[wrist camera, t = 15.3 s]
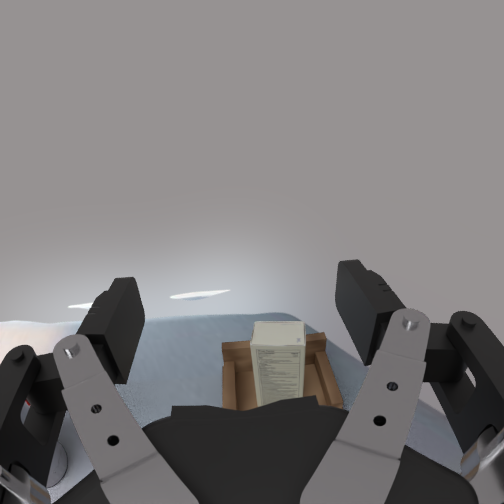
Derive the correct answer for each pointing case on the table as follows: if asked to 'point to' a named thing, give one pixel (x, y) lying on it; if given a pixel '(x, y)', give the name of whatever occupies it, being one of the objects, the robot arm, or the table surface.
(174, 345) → the table surface
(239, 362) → the tray
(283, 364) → the skincare box
